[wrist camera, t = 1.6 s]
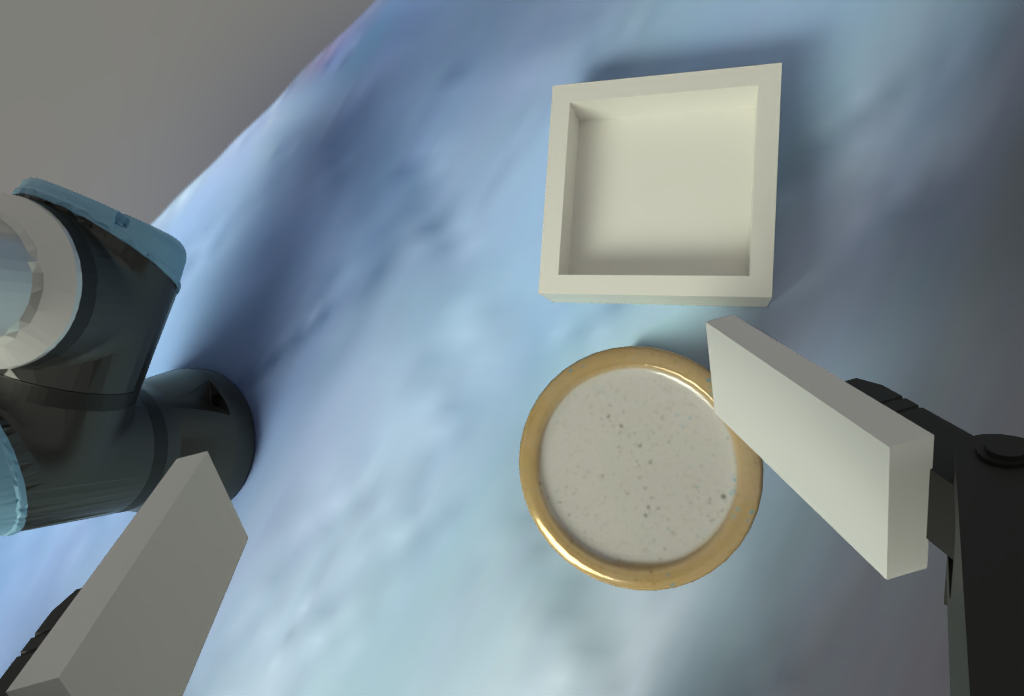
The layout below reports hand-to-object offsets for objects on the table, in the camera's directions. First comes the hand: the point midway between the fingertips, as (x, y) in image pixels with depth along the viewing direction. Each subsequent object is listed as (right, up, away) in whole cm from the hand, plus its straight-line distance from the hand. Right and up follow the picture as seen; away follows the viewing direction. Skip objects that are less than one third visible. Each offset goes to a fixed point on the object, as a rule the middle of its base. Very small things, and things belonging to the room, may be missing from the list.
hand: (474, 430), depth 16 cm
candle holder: (+14, -5, +32) cm, 35 cm away
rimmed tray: (+13, +14, +34) cm, 39 cm away
